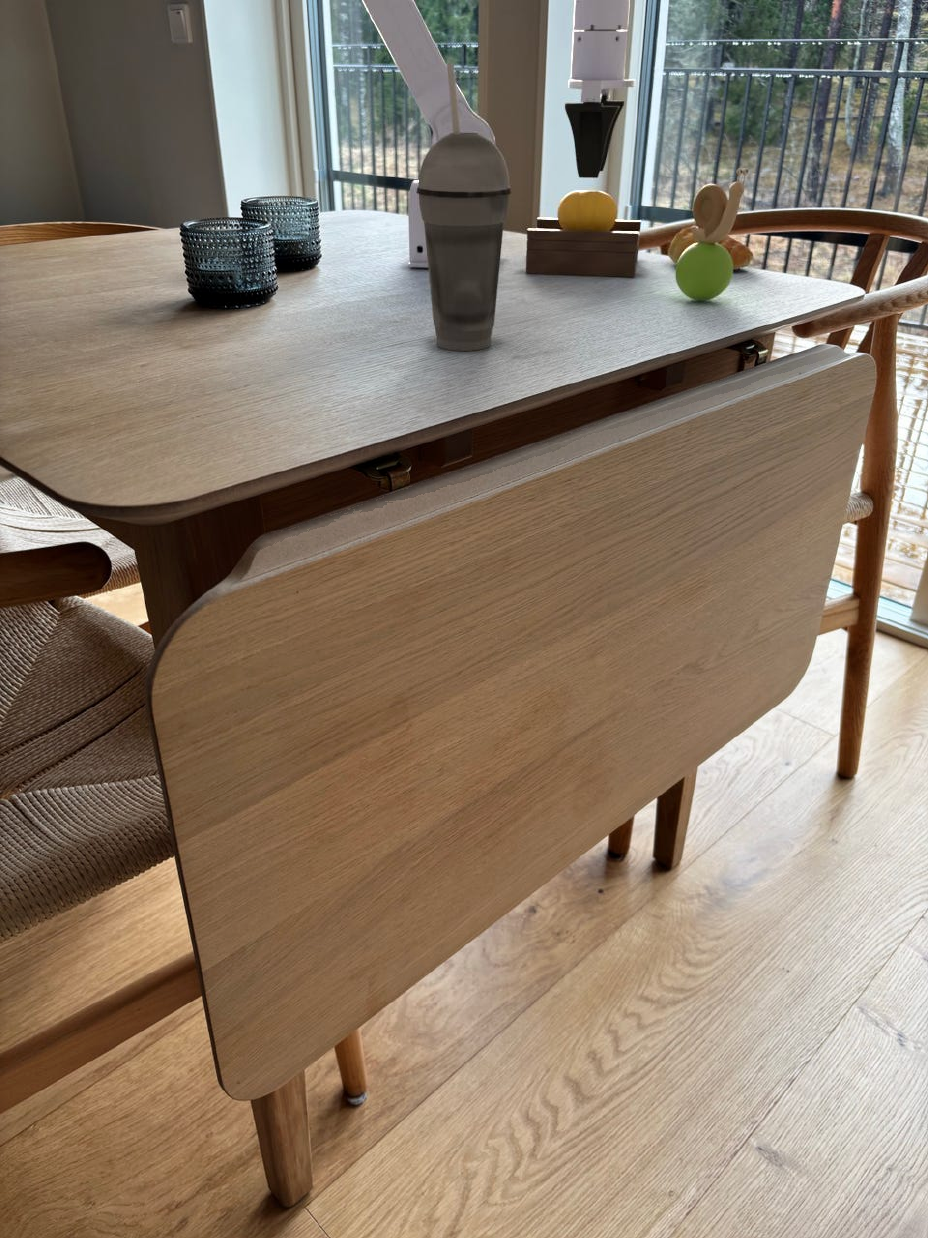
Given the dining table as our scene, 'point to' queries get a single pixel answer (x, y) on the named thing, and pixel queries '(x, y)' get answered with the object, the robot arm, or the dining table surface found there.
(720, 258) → the snail figurine
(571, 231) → the brown blocks
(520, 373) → the dining table surface
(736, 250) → the pastry
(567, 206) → the yellow oval piece
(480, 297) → the beverage cup
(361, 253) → the dining table surface
